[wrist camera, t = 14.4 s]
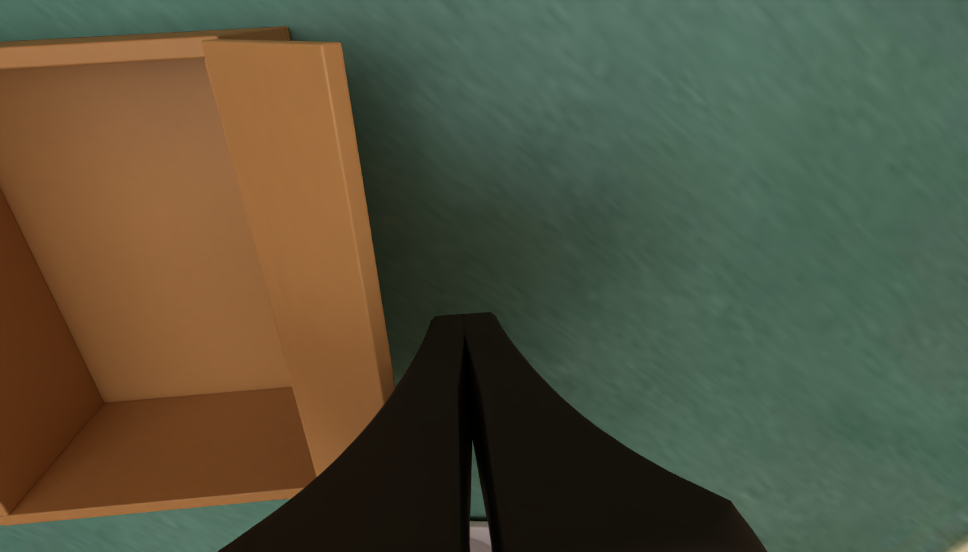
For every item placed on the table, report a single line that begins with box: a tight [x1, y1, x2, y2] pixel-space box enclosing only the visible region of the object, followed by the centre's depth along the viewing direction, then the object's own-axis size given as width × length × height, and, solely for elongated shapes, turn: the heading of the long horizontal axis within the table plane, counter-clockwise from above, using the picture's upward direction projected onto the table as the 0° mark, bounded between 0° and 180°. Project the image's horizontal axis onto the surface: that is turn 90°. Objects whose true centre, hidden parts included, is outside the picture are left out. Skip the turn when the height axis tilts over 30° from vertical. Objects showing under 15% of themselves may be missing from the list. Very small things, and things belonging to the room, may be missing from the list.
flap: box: [201, 39, 395, 476], centre depth 11 cm, size 5×13×1 cm
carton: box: [0, 26, 317, 526], centre depth 15 cm, size 10×13×5 cm
